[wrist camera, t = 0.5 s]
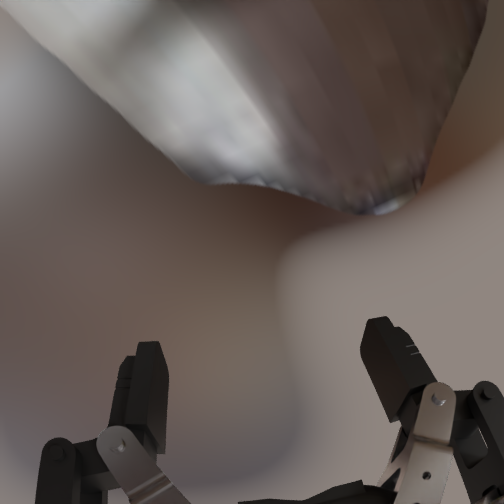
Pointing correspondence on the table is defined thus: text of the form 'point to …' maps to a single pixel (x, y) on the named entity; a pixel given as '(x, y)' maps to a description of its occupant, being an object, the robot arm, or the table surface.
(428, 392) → the robot arm
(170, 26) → the table surface
